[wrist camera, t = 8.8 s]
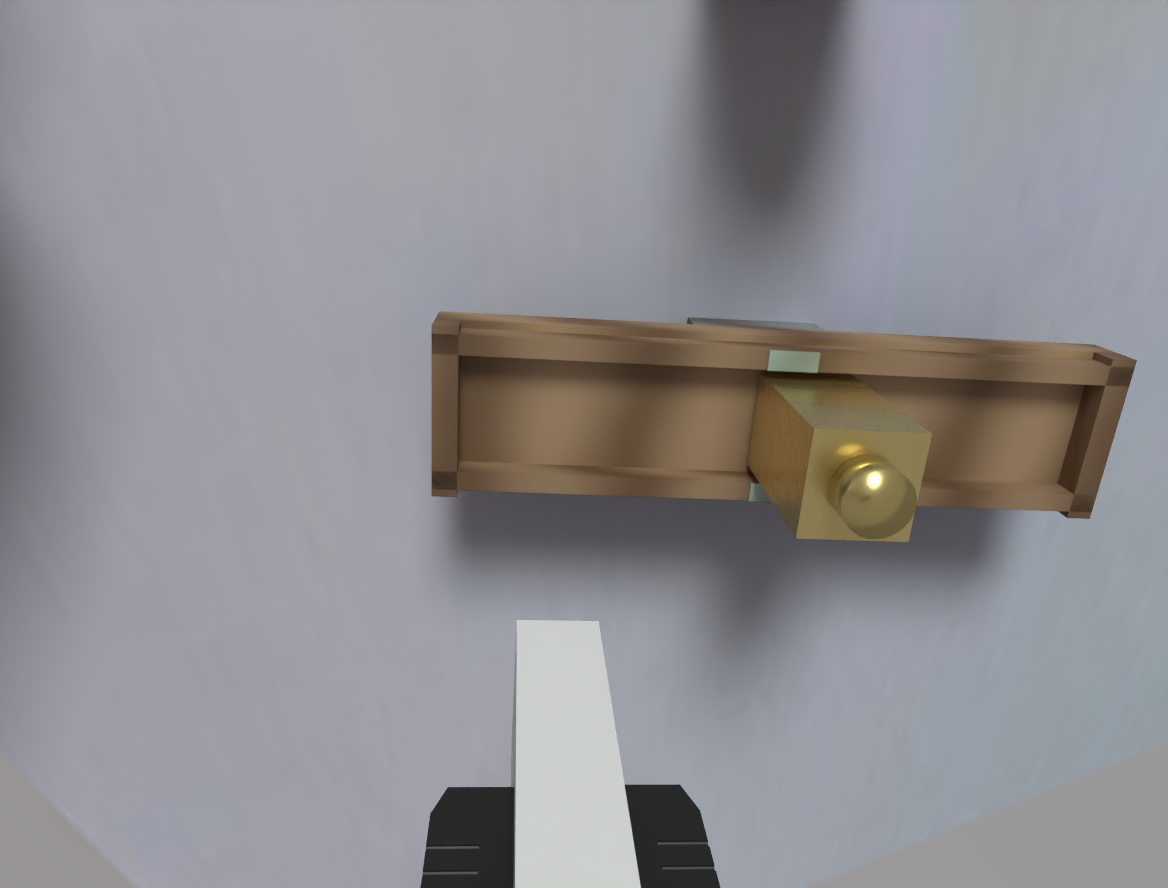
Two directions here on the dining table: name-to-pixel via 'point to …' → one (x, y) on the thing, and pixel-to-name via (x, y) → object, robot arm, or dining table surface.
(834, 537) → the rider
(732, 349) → the beam
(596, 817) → the robot arm
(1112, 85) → the dining table surface
